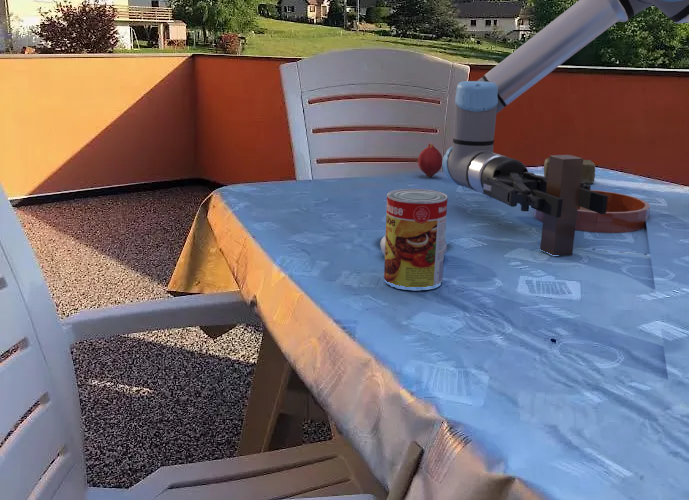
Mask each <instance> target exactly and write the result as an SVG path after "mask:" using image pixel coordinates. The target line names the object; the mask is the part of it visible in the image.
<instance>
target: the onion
mask: <svg viewBox="0 0 689 500" xmlns="http://www.w3.org/2000/svg"><path fill="white" fill-rule="evenodd" d="M442 160H443V155H442V154H441V152H440V151H439V150H438V149H437V148H436V147H435V145H434V143H431V142H430V143H428V144H427V147H426V148H424V149H423V150H421V152H420V153H419V156H418V160H417V166H418V168H419V170H420V171H421V172H422V173H423V174H424V175H425V176H426V177H428V178H432V177H433V176H435V175H436V174H438V173H439V172H440V170H442V168H443V167H442Z"/></svg>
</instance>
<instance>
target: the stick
mask: <svg viewBox="0 0 689 500" xmlns="http://www.w3.org/2000/svg"><path fill="white" fill-rule="evenodd" d="M548 158H549V167H548V177H547V187H546V193H547V194H550V195H553V196H555V197H558V198H561V199H563V202H562V211H561V217H559V218H556V217H553V216H551V215H548V214H546V213H544V216H543V222H542V226H541V227H542V228H541V236H540V248H539V250H540V249H541V250H543V251H545V252H548V253H550V254H552V255H567V256H573V252H574V244H575V243H574V242H575V237H576V236H575V234H576V233H575V232H576V230H575V227H576V218H577V210H578V201H579V193H580V184H581V175H582V167H583V160H584V157H578V156H576V155H573V154H572V155H571V154H554V155H553V154H552V155H549V157H548Z"/></svg>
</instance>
